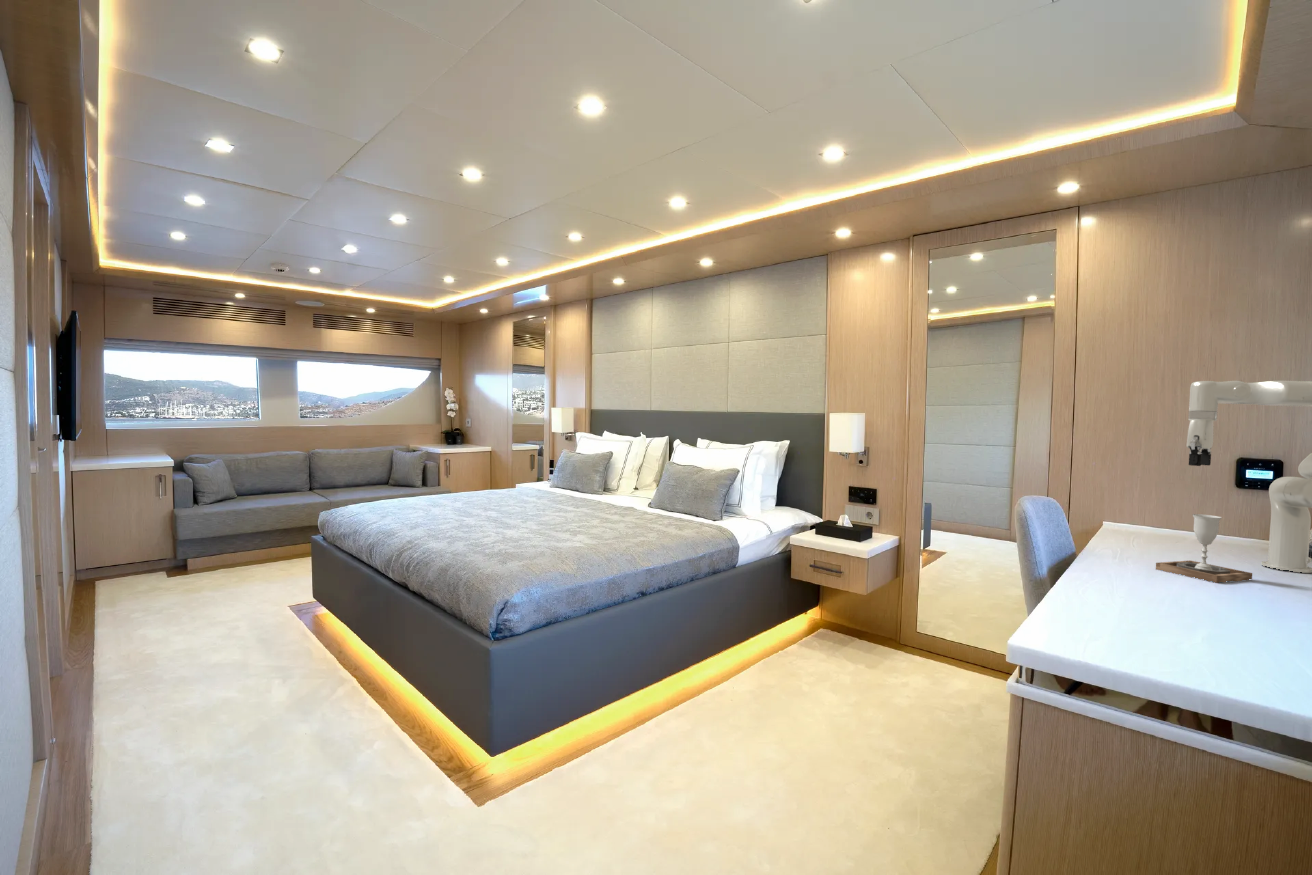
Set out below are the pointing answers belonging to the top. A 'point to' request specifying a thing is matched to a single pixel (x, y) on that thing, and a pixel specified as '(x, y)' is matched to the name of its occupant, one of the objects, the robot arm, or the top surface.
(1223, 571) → the holder tray
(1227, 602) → the top surface
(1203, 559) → the chalice
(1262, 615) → the top surface
